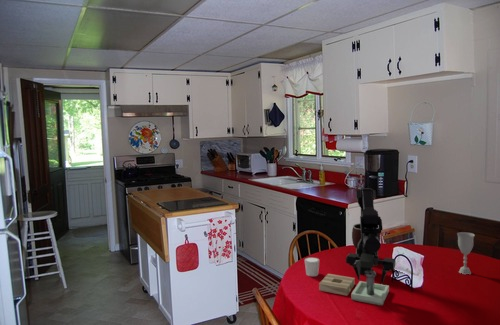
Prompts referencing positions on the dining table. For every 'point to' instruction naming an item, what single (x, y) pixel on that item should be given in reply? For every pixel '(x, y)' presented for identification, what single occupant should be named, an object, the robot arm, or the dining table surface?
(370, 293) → the pin
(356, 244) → the mate gourd
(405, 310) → the dining table surface
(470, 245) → the chalice
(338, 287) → the hole block
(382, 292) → the tray
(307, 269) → the cup
